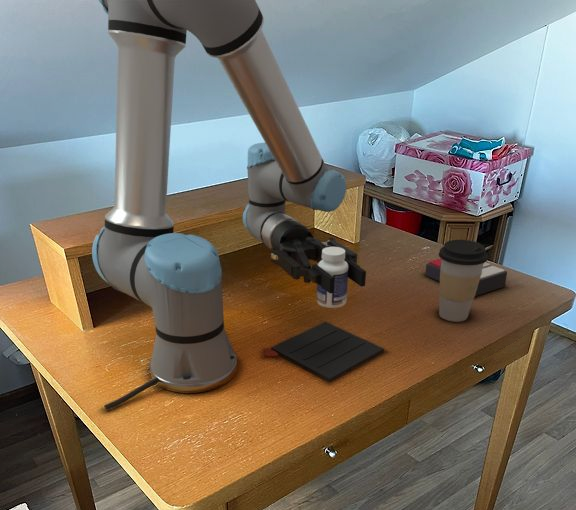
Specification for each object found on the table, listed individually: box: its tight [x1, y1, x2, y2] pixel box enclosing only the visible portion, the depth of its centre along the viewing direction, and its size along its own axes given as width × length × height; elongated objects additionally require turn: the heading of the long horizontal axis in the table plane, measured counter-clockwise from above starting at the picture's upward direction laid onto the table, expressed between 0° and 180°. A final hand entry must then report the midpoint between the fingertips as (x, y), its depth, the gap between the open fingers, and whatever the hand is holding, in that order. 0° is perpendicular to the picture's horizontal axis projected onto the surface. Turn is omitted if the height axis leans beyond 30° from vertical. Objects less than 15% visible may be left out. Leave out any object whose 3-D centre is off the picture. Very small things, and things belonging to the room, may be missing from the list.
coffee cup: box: [438, 239, 489, 323], centre depth 121 cm, size 9×9×15 cm
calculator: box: [424, 257, 508, 297], centre depth 139 cm, size 11×4×15 cm
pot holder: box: [264, 321, 385, 383], centre depth 112 cm, size 17×16×1 cm
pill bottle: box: [316, 247, 349, 309], centre depth 105 cm, size 5×5×10 cm
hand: (347, 282), depth 100 cm, fingers closed on pill bottle, 5 cm apart
